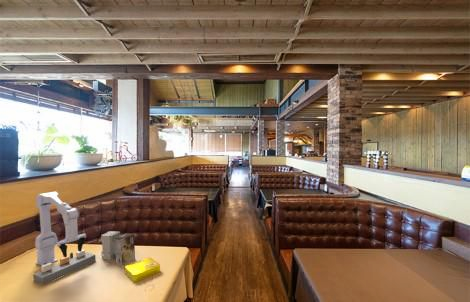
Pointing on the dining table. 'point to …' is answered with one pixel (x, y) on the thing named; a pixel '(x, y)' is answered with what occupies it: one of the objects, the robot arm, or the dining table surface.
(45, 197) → the robot arm
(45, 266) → the paddle
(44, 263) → the cord posts
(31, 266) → the dining table surface
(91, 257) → the breaker panel
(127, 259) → the coffee box
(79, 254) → the paddle
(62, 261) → the orange block
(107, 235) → the circuit breaker
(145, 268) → the element tile
